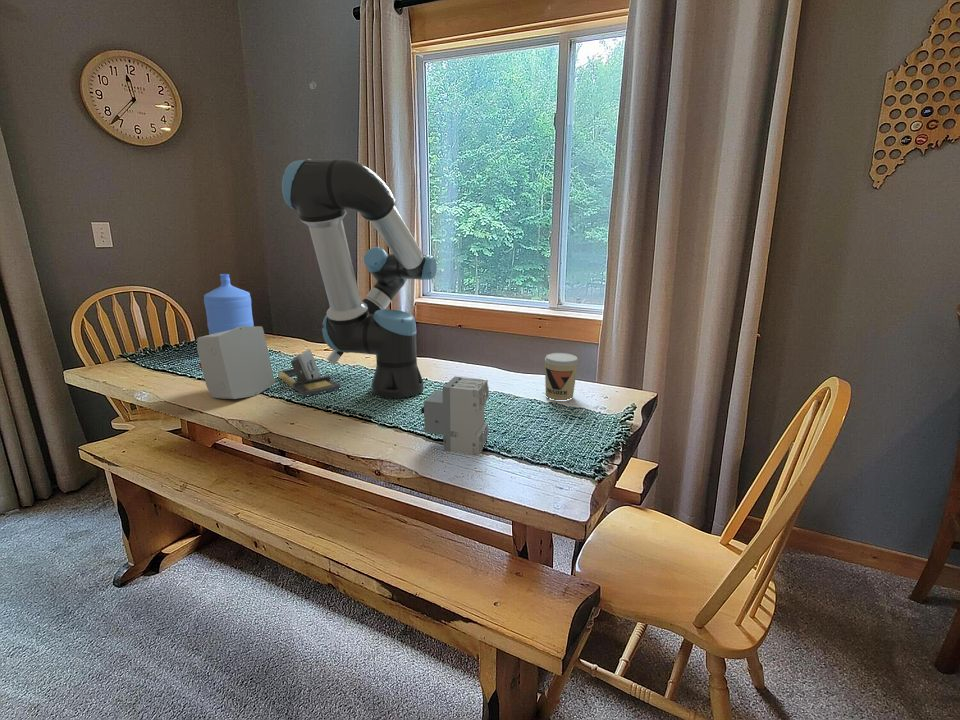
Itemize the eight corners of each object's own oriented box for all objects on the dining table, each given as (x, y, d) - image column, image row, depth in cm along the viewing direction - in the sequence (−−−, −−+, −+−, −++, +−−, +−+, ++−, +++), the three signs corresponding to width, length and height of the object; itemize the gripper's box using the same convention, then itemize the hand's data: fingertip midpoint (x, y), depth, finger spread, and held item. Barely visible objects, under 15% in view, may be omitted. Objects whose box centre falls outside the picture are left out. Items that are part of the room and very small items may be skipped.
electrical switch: (311, 385, 152) (305, 356, 149) (294, 387, 152) (288, 357, 149) (320, 376, 161) (315, 348, 158) (304, 377, 161) (299, 349, 158)
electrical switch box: (242, 387, 156) (227, 323, 152) (276, 387, 150) (261, 321, 145) (199, 402, 144) (181, 333, 139) (233, 403, 137) (216, 331, 133)
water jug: (246, 354, 184) (236, 277, 176) (203, 354, 184) (191, 276, 176) (263, 343, 199) (255, 272, 191) (223, 343, 199) (213, 271, 191)
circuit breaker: (430, 433, 120) (429, 373, 116) (487, 441, 116) (488, 379, 112) (417, 446, 113) (416, 383, 109) (478, 455, 110) (479, 390, 105)
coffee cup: (539, 400, 142) (541, 359, 139) (547, 389, 151) (549, 351, 147) (572, 404, 139) (574, 363, 136) (578, 394, 147) (581, 354, 144)
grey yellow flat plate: (340, 389, 149) (340, 382, 149) (304, 397, 143) (303, 390, 142) (312, 371, 166) (312, 365, 165) (278, 377, 159) (277, 371, 158)
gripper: (391, 314, 164) (347, 373, 159) (372, 308, 174) (330, 363, 169) (376, 300, 160) (330, 360, 154) (357, 294, 169) (313, 351, 164)
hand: (330, 362), depth 161 cm, fingers closed
